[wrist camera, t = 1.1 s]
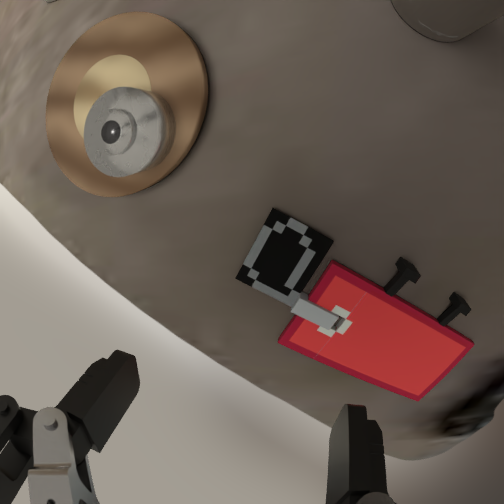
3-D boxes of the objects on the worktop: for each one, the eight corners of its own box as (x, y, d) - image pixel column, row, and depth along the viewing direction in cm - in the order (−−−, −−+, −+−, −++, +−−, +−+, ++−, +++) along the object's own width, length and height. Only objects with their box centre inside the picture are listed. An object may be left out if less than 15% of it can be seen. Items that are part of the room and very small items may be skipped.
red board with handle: (282, 188, 28) (220, 306, 35) (280, 194, 26) (213, 320, 32) (488, 315, 29) (416, 394, 35) (497, 328, 26) (420, 408, 33)
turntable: (73, 32, 25) (59, 29, 23) (225, 13, 23) (217, 3, 20) (56, 183, 33) (42, 187, 30) (197, 204, 30) (188, 210, 28)
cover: (109, 91, 25) (80, 88, 21) (181, 90, 24) (157, 83, 20) (102, 168, 28) (74, 175, 24) (171, 175, 27) (147, 184, 23)
